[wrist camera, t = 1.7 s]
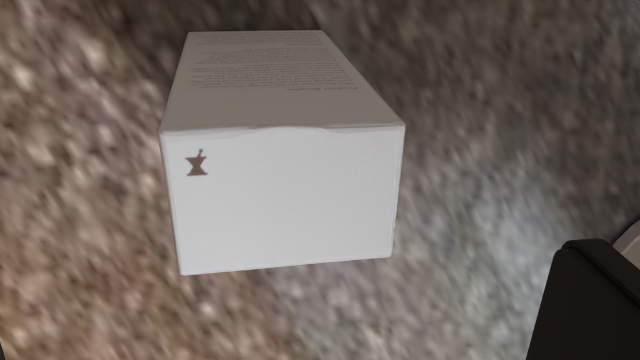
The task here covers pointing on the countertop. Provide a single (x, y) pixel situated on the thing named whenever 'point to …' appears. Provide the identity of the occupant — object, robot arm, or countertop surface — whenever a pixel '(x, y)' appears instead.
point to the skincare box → (277, 154)
